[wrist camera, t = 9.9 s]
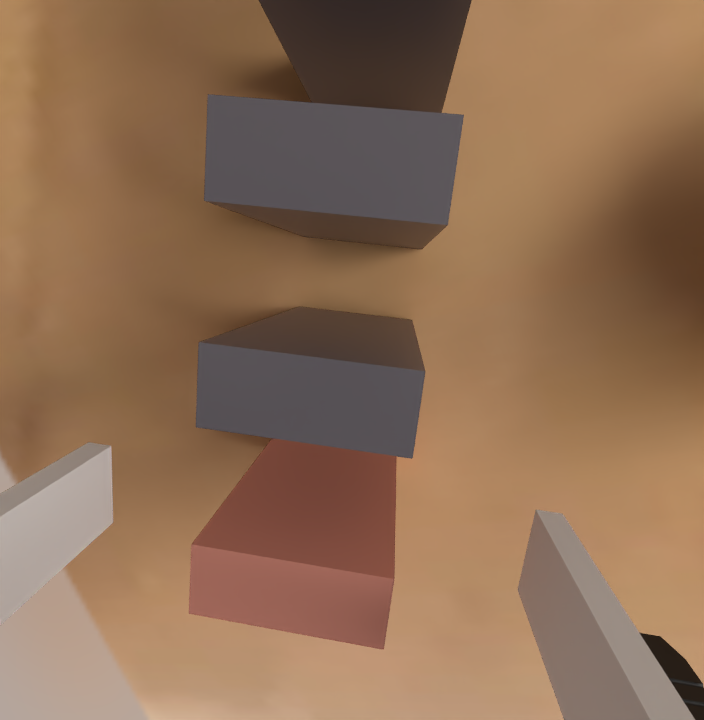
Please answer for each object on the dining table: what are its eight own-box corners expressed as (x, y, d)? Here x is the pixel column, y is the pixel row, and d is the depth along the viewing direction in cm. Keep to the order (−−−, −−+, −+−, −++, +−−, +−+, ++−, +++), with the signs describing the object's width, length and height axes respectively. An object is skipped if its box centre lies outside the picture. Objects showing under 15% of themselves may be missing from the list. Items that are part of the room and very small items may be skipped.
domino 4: (391, 469, 20) (383, 649, 11) (287, 453, 21) (188, 613, 11) (396, 429, 20) (394, 579, 10) (290, 414, 20) (191, 544, 11)
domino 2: (309, 188, 18) (207, 94, 9) (428, 199, 18) (463, 115, 8) (305, 236, 19) (204, 200, 9) (421, 249, 18) (447, 224, 9)
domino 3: (299, 306, 19) (198, 341, 10) (412, 319, 19) (425, 371, 9) (295, 350, 20) (195, 427, 10) (406, 364, 19) (412, 458, 10)
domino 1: (320, 54, 17) (217, -224, 8) (447, 63, 17) (512, -218, 7) (315, 109, 18) (213, -87, 8) (439, 119, 17) (491, -74, 8)
